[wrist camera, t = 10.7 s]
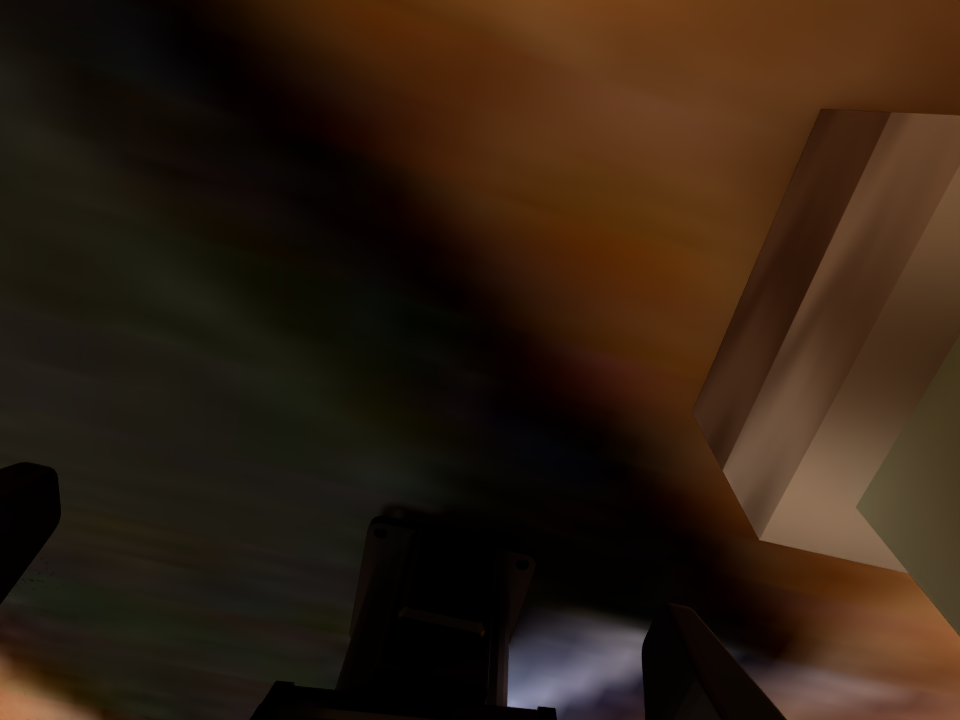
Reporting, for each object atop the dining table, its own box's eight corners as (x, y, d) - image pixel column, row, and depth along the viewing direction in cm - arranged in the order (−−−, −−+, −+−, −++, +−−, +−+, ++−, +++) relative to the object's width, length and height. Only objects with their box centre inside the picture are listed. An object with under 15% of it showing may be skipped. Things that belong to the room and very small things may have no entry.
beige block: (910, 463, 21) (1063, 608, 15) (691, 413, 21) (759, 540, 15) (1091, 175, 17) (1400, 218, 11) (820, 109, 17) (985, 116, 11)
